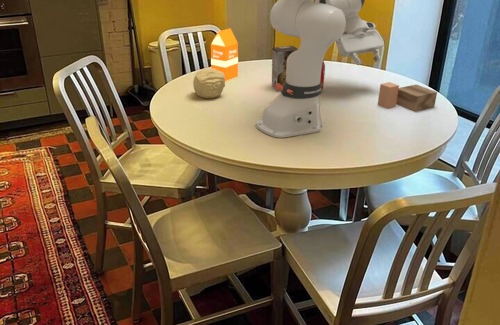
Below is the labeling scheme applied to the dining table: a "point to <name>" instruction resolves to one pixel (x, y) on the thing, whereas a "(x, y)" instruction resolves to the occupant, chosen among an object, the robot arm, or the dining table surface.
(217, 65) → the orange juice
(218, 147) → the dining table surface
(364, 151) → the dining table surface
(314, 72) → the robot arm
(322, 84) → the soda can
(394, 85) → the salmon pink block
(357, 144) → the dining table surface
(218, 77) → the sculpture
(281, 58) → the coffee box
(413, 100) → the walnut box
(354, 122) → the dining table surface
